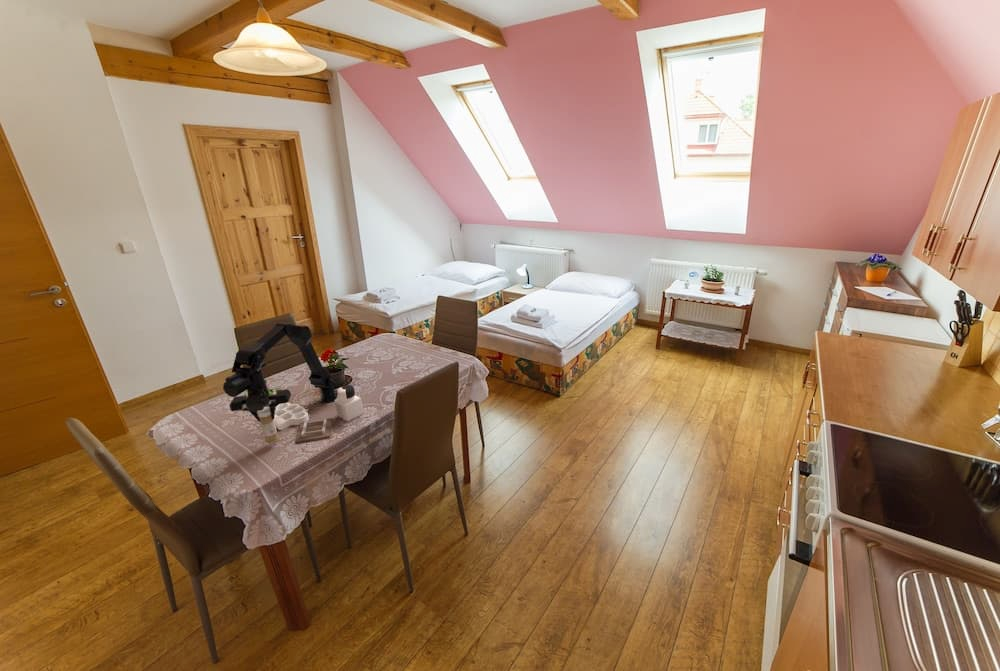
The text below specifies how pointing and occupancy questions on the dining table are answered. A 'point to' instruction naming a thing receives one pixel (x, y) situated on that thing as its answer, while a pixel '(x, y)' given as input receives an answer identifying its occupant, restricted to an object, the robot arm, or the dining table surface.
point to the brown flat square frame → (314, 430)
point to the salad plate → (271, 392)
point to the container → (348, 403)
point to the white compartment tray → (289, 415)
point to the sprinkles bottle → (268, 425)
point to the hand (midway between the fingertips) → (266, 419)
